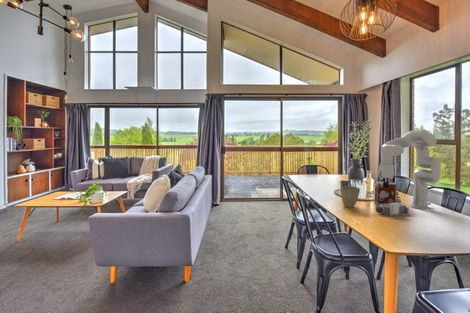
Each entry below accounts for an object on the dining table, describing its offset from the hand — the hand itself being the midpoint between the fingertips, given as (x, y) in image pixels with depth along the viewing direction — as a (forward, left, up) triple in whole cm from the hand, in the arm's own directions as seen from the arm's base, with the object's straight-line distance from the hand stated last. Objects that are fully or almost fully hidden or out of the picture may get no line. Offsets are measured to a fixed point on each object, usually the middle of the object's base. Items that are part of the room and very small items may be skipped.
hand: (385, 187), depth 183 cm
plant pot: (+8, -28, -22) cm, 36 cm away
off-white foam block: (-9, 0, -21) cm, 23 cm away
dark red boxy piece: (-25, -22, -22) cm, 40 cm away
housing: (-11, -5, -22) cm, 25 cm away
